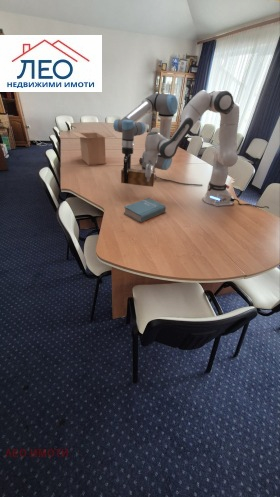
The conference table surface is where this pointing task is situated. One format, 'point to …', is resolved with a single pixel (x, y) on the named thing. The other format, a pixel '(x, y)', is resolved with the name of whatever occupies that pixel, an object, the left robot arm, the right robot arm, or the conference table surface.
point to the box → (92, 146)
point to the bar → (138, 177)
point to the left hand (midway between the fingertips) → (126, 181)
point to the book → (144, 209)
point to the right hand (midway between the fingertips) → (148, 179)
